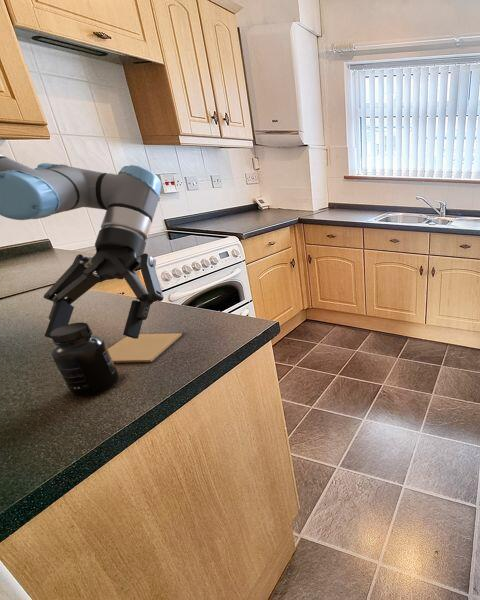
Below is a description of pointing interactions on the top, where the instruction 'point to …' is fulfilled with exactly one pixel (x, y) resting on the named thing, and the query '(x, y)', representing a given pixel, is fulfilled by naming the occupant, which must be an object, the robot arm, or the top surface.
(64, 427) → the top surface
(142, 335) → the cork mat
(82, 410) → the top surface
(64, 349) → the supplement bottle
